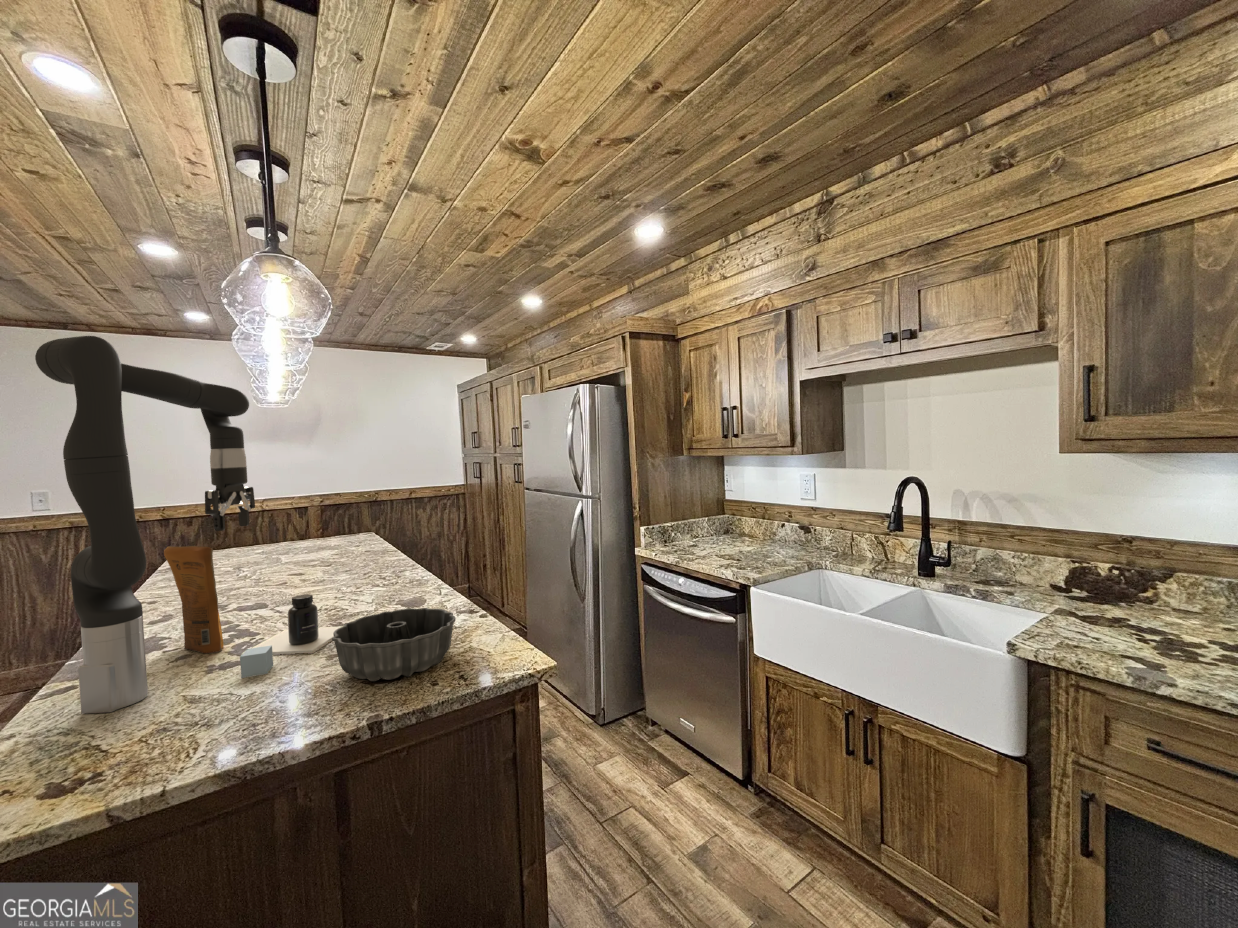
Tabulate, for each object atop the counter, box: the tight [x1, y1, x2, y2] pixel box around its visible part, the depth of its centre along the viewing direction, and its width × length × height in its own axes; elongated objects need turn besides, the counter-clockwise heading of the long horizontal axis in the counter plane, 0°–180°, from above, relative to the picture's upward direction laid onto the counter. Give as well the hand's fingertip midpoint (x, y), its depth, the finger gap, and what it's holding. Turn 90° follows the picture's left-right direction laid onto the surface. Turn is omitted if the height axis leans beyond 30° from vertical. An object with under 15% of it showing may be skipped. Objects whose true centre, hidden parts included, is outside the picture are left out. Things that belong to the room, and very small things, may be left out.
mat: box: [240, 625, 344, 656], centre depth 139 cm, size 18×18×1 cm
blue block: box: [239, 645, 274, 679], centre depth 120 cm, size 5×5×5 cm
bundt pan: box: [331, 607, 456, 682], centre depth 120 cm, size 26×26×10 cm
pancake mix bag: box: [163, 545, 225, 654], centre depth 137 cm, size 7×19×28 cm, turn 63°
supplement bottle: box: [287, 593, 319, 645], centre depth 137 cm, size 7×7×12 cm
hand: (232, 528), depth 134 cm, fingers open, 8 cm apart
